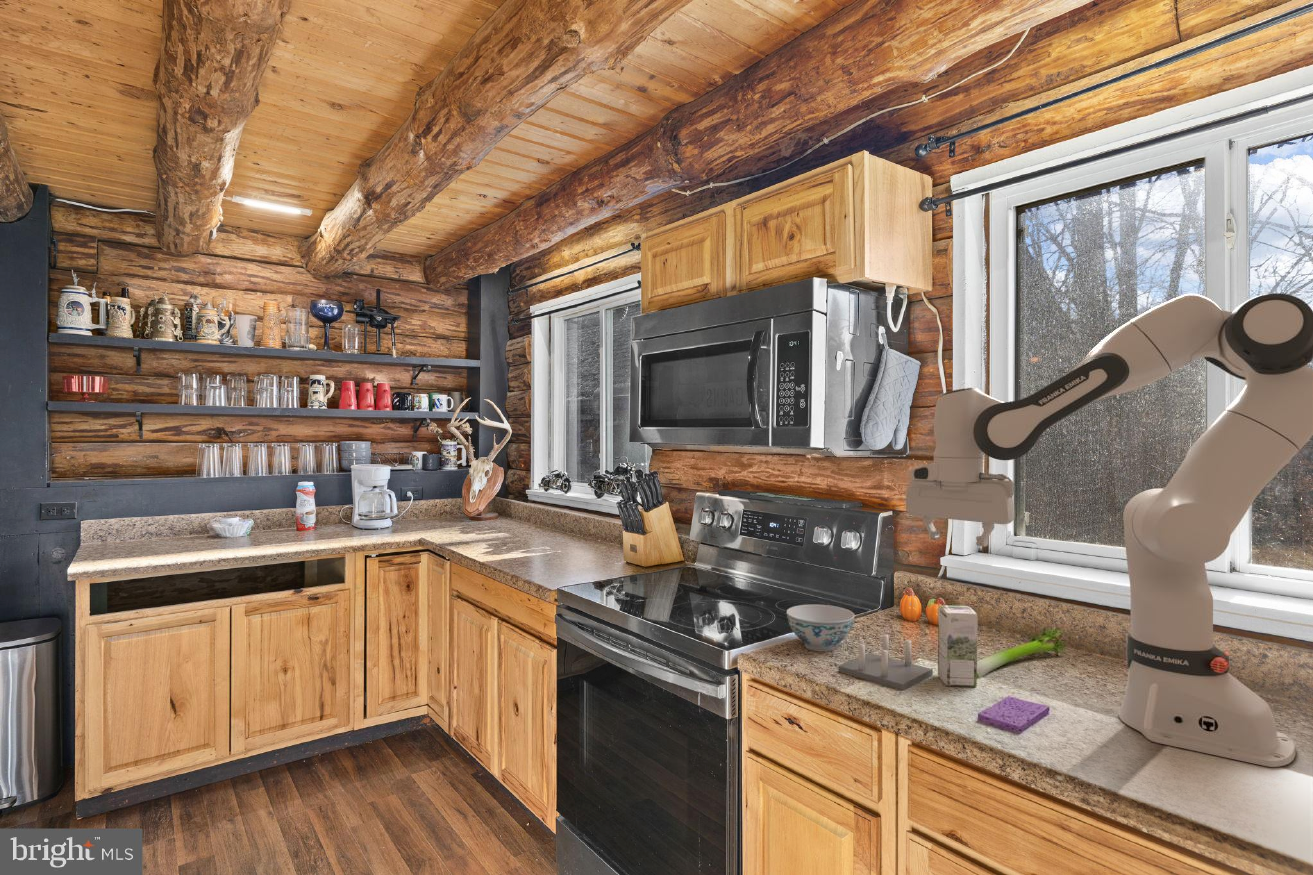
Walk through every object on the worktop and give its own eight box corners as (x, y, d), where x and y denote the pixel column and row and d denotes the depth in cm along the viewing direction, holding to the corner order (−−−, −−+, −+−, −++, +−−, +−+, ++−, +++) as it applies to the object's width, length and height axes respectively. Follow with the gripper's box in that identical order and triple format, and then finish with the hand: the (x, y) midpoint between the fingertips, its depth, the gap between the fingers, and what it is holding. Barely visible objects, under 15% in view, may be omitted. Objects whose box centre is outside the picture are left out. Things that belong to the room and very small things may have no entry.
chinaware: (862, 657, 151) (862, 621, 151) (793, 657, 151) (793, 622, 151) (844, 636, 166) (844, 604, 166) (781, 636, 166) (781, 604, 166)
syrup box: (967, 676, 139) (967, 604, 139) (977, 687, 133) (977, 612, 133) (937, 676, 140) (937, 603, 140) (946, 687, 134) (946, 611, 134)
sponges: (977, 723, 119) (977, 712, 119) (1008, 704, 127) (1008, 693, 127) (1020, 737, 113) (1020, 725, 113) (1050, 715, 122) (1050, 705, 122)
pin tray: (932, 675, 140) (932, 644, 140) (902, 690, 132) (902, 658, 132) (869, 658, 151) (869, 629, 150) (838, 671, 143) (838, 641, 142)
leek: (955, 680, 143) (1041, 645, 158) (986, 696, 137) (1073, 658, 152) (957, 653, 142) (1044, 619, 157) (988, 667, 136) (1075, 631, 151)
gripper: (1020, 473, 130) (1020, 547, 131) (917, 468, 146) (916, 535, 146) (1006, 475, 126) (1006, 551, 126) (901, 470, 141) (901, 538, 142)
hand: (957, 542), depth 136 cm, fingers open, 8 cm apart
